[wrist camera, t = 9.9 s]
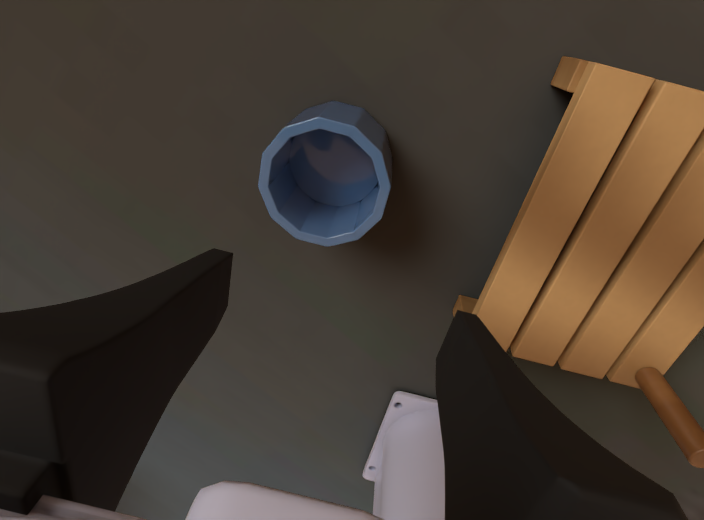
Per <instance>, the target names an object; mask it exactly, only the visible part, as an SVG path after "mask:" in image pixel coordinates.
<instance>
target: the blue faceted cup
mask: <svg viewBox="0 0 704 520" xmlns="http://www.w3.org/2000/svg"><path fill="white" fill-rule="evenodd" d="M392 166H393V157H392V153H391V149H390V146H389V142H388V138H387V134H386V131H385V129H384V128H383V127H382V126H381V125H380V124H379V123H378V122H377V121H376V120H375V119H374V118H373V117H372V116H371V115H370V114H369V113H368V112H367V111H366V110H365V109H363V108H360V107H356V106H352V105H349V104H345V103H341V102H337V101H330V102H327V103H324V104H321V105H318V106H314V107H311V108H308V109H305V110H304V111H303V112H301V113H300V114H299V115H298V116H297V117H296V118H294V119H293V120H292V121H291V122H290V123H289V124H287V125H286V126H285V127H284V128H283V129H282V130H281V131H280V133H279V134H278V135H277V136H276V137H275V139H274V140H273V141H272V142H271V143H270V145H269V146H268V147H267V148H266V149H265V151H264V152H263V154H262V159H261V167H260V175H259V183H258V188H259V190H260V193H261V195H262V197H263V200H264V202H265V205H266V207H267V209H268V212H269V214H270V217H271V218H272V219H273V220H274V221H276V222H277V223H278V224H279V225H280V226H281V227H283V228H284V229H285V230H286V231H287V232H289V233H290V234H291V235H292V236H293V237H294V238H296V239H299V240H302V241H306V242H310V243H314V244H318V245H322V246H326V247H329V246H333V245H338V244H342V243H347V242H351V241H355V240H358V239H360V238H361V237H362V236H363V235H364V234H365V233H366V232H368V231H369V230H370V229H371V228H372V227H373V226H374V225H375V224H376V223H377V222H379V221H380V220H381V218H382V217H383V213H384V210H385V206H386V203H387V199H388V196H389V192H390V189H391V179H392Z"/></svg>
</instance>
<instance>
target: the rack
mask: <svg viewBox="0 0 704 520" xmlns="http://www.w3.org/2000/svg"><path fill="white" fill-rule="evenodd" d="M551 85H552V86H555V87H557V88H560V89H562V90H565V91H567V92H571V93H574V94H573V96H572V98H571V101H570V103H569V105H568V107H567V109H566V111H565V114H564V116H563V118H562V120H561V122H560V124H559V126H558V129H557V131H556V133H555V135H554V137H553V139H552V142H551V144H550V146H549V148H548V150H547V152H546V155H545V157H544V159H543V161H542V163H541V165H540V167H539V170H538V172H537V174H536V176H535V178H534V180H533V183H532V185H531V187H530V189H529V191H528V193H527V196H526V198H525V200H524V202H523V204H522V206H521V209H520V211H519V213H518V215H517V217H516V219H515V221H514V224H513V226H512V228H511V230H510V232H509V234H508V237H507V239H506V241H505V243H504V245H503V247H502V250H501V252H500V254H499V256H498V258H497V260H496V262H495V265H494V267H493V269H492V271H491V273H490V275H489V278H488V280H487V282H486V284H485V286H484V288H483V291H482V293H481V295H480V297H479V299H474V298H470V297H466V296H462V295H459V297H458V299H457V301H456V304H455V306H454V308H453V315H454V316H455V314H456V312H457V310H460V311H464V312H468V313H472V314H476V315H477V316H478V317H479V318H480V320H481V321H482V322H483V323H484V325H485V326H486V327H487V329H488V330H489V331H490V332H491V334H492V335H493V336H494V338H495V339H496V340H497V342H498V343H499V344H500V346H501V347H502V348H503V349H504V351H505V352H506V351H507V349H508V348H509V347H510V350H511V353H512V356H514V357H517V358H521V359H525V360H529V361H533V362H537V363H541V364H545V365H549V366H554V364H555V363H556V361H558V363H559V365H560V368H561V369H563V370H567V371H571V372H575V373H579V374H583V375H587V376H591V377H595V378H599V379H602V378H603V377H604V376H605V374H606V376H607V377H608V379H609V381H611V382H615V383H619V384H623V385H627V386H631V387H635V388H639V389H641V390H642V391H643V393H644V394H645V396H646V397H647V399H648V400H649V402H650V403H651V405H652V406H653V408H654V409H655V411H656V413H657V414H658V416H659V417H660V419H661V420H662V422H663V423H664V425H665V426H666V428H667V429H668V431H669V432H670V434H671V435H672V437H673V439H674V440H675V442H676V443H677V445H678V446H679V448H680V449H681V451H682V452H683V454H684V455H685V457H686V458H687V460H688V461H689V463H690V464H691V465H693V466H695V467H698V468H704V431H703V429H702V428H701V427H700V425H699V424H698V423H697V421H696V420H695V419H694V417H693V416H692V415H691V413H690V412H689V411H688V409H687V408H686V406H685V405H684V404H683V402H682V401H681V400H680V398H679V397H678V396H677V394H676V393H675V392H674V390H673V389H672V388H671V386H670V385H669V384H668V382H667V381H666V380H665V378H664V377H663V375H664V374H665V373H666V371H667V370H668V369H669V368H670V366H671V365H672V364H673V363H674V362H675V360H676V359H677V358H678V357H679V355H680V354H681V353H682V352H683V351H684V349H685V348H686V347H687V346H688V344H689V343H690V342H691V341H692V340H693V338H694V337H695V336H696V335H697V334H698V332H699V331H700V330H701V329H702V327H703V326H704V91H701V90H697V89H693V88H689V87H686V86H682V85H678V84H674V83H671V82H667V81H662V80H657V79H654V78H652V77H648V76H644V75H641V74H637V73H633V72H629V71H626V70H622V69H618V68H614V67H611V66H607V65H603V64H599V63H595V62H590V61H586V60H582V59H577V58H572V57H566V56H563V57H562V58H561V61H560V63H559V65H558V68H557V70H556V72H555V75H554V77H553V79H552V82H551ZM638 110H639V111H638ZM637 111H638V113H637ZM636 113H637V115H636V117H635V119H634V121H633V122H632V120H633V118H634V116H635V114H636ZM631 122H632V124H631ZM630 124H631V126H630V128H629V130H628V132H627V133H626V131H627V129H628V127H629V125H630ZM625 133H626V135H625ZM624 135H625V137H624V139H623V141H622V142H621V140H622V138H623V136H624ZM620 142H621V144H620ZM619 144H620V146H619ZM618 146H619V148H618V150H617V152H616V153H615V151H616V149H617V147H618ZM614 153H615V155H614ZM613 155H614V157H613ZM612 157H613V159H612V161H611V163H610V164H609V162H610V160H611V158H612ZM608 164H609V166H608ZM607 166H608V168H607ZM606 168H607V170H606V172H605V174H604V175H603V173H604V171H605V169H606ZM602 175H603V177H602ZM601 177H602V179H601ZM600 179H601V181H600V183H599V185H598V186H597V184H598V182H599V180H600ZM596 186H597V188H596ZM595 188H596V190H595ZM594 190H595V192H594V194H593V196H592V197H591V195H592V193H593V191H594ZM590 197H591V199H590ZM589 199H590V201H589ZM588 201H589V203H588ZM587 203H588V205H587V207H586V208H585V206H586V204H587ZM584 208H585V210H584ZM583 210H584V212H583ZM582 212H583V214H582ZM581 214H582V216H581V218H580V219H579V217H580V215H581ZM578 219H579V221H578ZM577 221H578V223H577ZM576 223H577V225H576ZM575 225H576V227H575V229H574V230H573V228H574V226H575ZM572 230H573V232H572ZM571 232H572V234H571ZM570 234H571V236H570ZM569 236H570V238H569V240H568V241H567V239H568V237H569ZM566 241H567V243H566ZM565 243H566V245H565ZM564 245H565V247H564ZM563 247H564V249H563V251H562V252H561V250H562V248H563ZM560 252H561V254H560ZM559 254H560V256H559ZM558 256H559V258H558ZM557 258H558V260H557V262H556V263H555V261H556V259H557ZM554 263H555V265H554ZM553 265H554V267H553ZM552 267H553V269H552ZM551 269H552V271H551V273H550V274H549V272H550V270H551ZM548 274H549V276H548ZM547 276H548V278H547ZM546 278H547V280H546ZM545 280H546V282H545V284H544V285H543V283H544V281H545ZM542 285H543V287H542ZM541 287H542V289H541ZM540 289H541V291H540ZM539 291H540V293H539ZM538 293H539V295H538V296H537V294H538ZM536 296H537V298H536ZM535 298H536V300H535ZM534 300H535V302H534ZM533 302H534V304H533ZM532 304H533V305H532ZM531 305H532V307H531ZM530 307H531V309H530ZM529 309H530V311H529ZM528 311H529V312H528Z"/></svg>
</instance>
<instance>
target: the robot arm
mask: <svg viewBox="0 0 704 520" xmlns="http://www.w3.org/2000/svg"><path fill="white" fill-rule="evenodd" d="M232 258H233V253H230V252H226V251H222V250H218V249H211V250H209V251H207V252H204V253H202V254H200V255H198V256H196V257H194V258H192V259H190V260H188V261H186V262H184V263H181V264H179V265H177V266H175V267H173V268H171V269H168V270H166V271H164V272H162V273H159V274H157V275H154V276H152V277H149V278H147V279H144V280H142V281H139V282H137V283H134V284H131V285H129V286H126V287H123V288H120V289H117V290H113V291H110V292H107V293H103V294H100V295H96V296H92V297H88V298H84V299H79V300H75V301H71V302H67V303H62V304H57V305H52V306H46V307H40V308H34V309H27V310H21V311H13V312H5V313H0V520H147V519H143V518H139V517H135V516H130V515H126V514H122V513H118V512H115V510H116V508H117V505H118V503H119V501H120V499H121V497H122V494H123V492H124V490H125V488H126V486H127V484H128V482H129V480H130V478H131V476H132V474H133V472H134V469H135V467H136V465H137V463H138V461H139V459H140V457H141V455H142V453H143V451H144V449H145V447H146V445H147V443H148V441H149V439H150V437H151V435H152V433H153V431H154V429H155V427H156V425H157V423H158V422H159V420H160V418H161V416H162V414H163V412H164V410H165V408H166V407H167V405H168V403H169V401H170V399H171V397H172V396H173V394H174V392H175V391H176V389H177V388H178V386H179V384H180V383H181V381H182V380H183V378H184V377H185V376H186V374H187V373H188V371H189V370H190V368H191V367H192V365H193V364H194V362H195V361H196V359H197V358H198V356H199V355H200V353H201V352H202V350H203V349H204V347H205V346H206V344H207V343H208V341H209V340H210V338H211V337H212V335H213V334H214V332H215V331H216V329H217V327H218V325H219V323H220V321H221V319H222V317H223V314H224V312H225V310H226V308H227V306H228V297H229V287H230V277H231V267H232ZM436 394H437V400H435V399H431V398H427V397H423V396H419V395H415V394H411V393H407V392H403V391H397V392H395V393H394V394H393V396H392V399H391V401H390V404H389V406H388V409H387V411H386V414H385V416H384V419H383V422H382V424H381V427H380V429H379V432H378V434H377V437H376V439H375V442H374V444H373V447H372V449H371V452H370V454H369V457H368V460H367V462H366V465H365V467H364V470H363V477H364V478H365V479H367V480H370V481H375V488H374V504H373V514H370V513H368V512H366V511H363V510H360V509H356V508H352V507H348V506H344V505H340V504H335V503H331V502H327V501H323V500H319V499H315V498H311V497H307V496H303V495H299V494H294V493H290V492H286V491H282V490H278V489H274V488H270V487H266V486H262V485H257V484H253V483H249V482H237V481H222V482H220V483H217V484H214V485H211V486H208V487H205V488H202V489H200V491H199V493H198V495H197V496H196V498H195V500H194V501H193V503H192V505H191V508H190V510H189V512H188V514H187V517H186V519H185V520H688V519H687V517H686V515H685V514H684V512H683V510H682V508H681V507H680V505H679V503H678V501H677V500H676V498H675V496H674V495H673V493H671V492H669V491H668V490H666V489H665V488H663V487H662V486H660V485H658V484H657V483H655V482H654V481H652V480H651V479H649V478H648V477H646V476H644V475H643V474H641V473H640V472H638V471H637V470H635V469H634V468H632V467H630V466H629V465H628V464H626V463H625V462H623V461H622V460H621V459H619V458H618V457H616V456H615V455H614V454H612V453H611V452H610V451H608V450H607V449H605V448H604V447H603V446H601V445H600V444H599V443H598V442H596V441H595V440H594V439H592V438H591V437H590V436H589V435H587V434H586V433H585V432H584V431H583V430H581V429H580V428H579V427H578V426H577V425H575V424H574V423H573V422H572V421H571V420H569V419H568V418H567V417H566V416H565V415H564V414H563V413H562V412H560V411H559V410H558V409H557V408H556V407H555V406H554V405H553V404H552V403H551V402H550V401H549V400H548V399H547V398H546V397H545V396H544V395H543V394H542V393H541V392H540V391H539V390H538V389H537V388H536V387H535V386H534V385H533V384H532V383H531V381H530V380H529V379H528V378H527V377H526V376H525V375H524V374H523V372H522V371H521V370H520V369H519V368H518V367H517V365H516V364H515V363H514V362H513V361H512V359H511V358H510V357H509V356H508V354H507V353H506V352H505V351H504V349H503V348H502V347H501V346H500V344H499V343H498V342H497V340H496V339H495V338H494V336H493V335H492V334H491V332H490V331H489V330H488V329H487V327H486V326H485V325H484V323H483V322H482V321H481V320H480V318H479V317H478V316H477V315H476V314H472V313H468V312H464V311H460V310H457V312H456V314H455V316H454V319H453V321H452V323H451V326H450V328H449V330H448V332H447V335H446V337H445V339H444V342H443V344H442V346H441V348H440V351H439V353H438V355H437V358H436ZM397 403H400V404H397Z"/></svg>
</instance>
